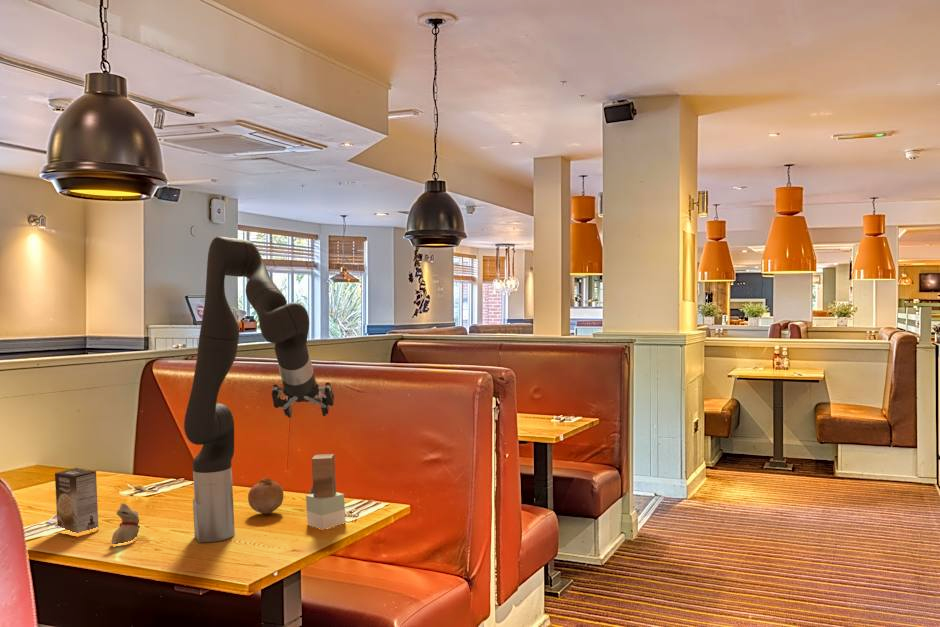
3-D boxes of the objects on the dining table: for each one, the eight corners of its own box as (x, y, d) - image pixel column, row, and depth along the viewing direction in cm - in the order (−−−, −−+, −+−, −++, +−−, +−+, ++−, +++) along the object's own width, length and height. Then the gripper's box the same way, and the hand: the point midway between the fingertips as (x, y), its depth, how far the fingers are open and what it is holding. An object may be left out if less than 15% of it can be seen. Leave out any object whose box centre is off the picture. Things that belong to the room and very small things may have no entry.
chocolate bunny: (146, 540, 197) (144, 501, 196) (113, 548, 191) (111, 507, 191) (137, 536, 201) (135, 497, 200) (105, 544, 195) (103, 504, 195)
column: (333, 496, 202) (331, 458, 202) (313, 497, 202) (311, 458, 202) (336, 491, 207) (334, 453, 207) (317, 492, 207) (315, 454, 207)
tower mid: (322, 515, 200) (321, 499, 199) (306, 510, 205) (306, 495, 204) (344, 509, 204) (344, 494, 204) (329, 504, 209) (328, 489, 209)
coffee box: (56, 533, 206) (53, 472, 205) (79, 526, 211) (76, 467, 211) (77, 538, 201) (74, 475, 201) (100, 531, 207) (97, 470, 206)
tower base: (322, 531, 200) (322, 515, 200) (307, 525, 205) (306, 510, 204) (345, 524, 205) (344, 509, 205) (329, 519, 210) (329, 504, 209)
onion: (291, 512, 218) (289, 476, 218) (265, 521, 210) (263, 483, 210) (267, 507, 223) (266, 472, 223) (241, 516, 215) (239, 480, 215)
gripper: (328, 358, 185) (337, 400, 197) (268, 360, 185) (280, 403, 197) (326, 383, 180) (335, 425, 192) (263, 385, 180) (276, 427, 191)
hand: (307, 414), depth 194 cm, fingers open, 8 cm apart
